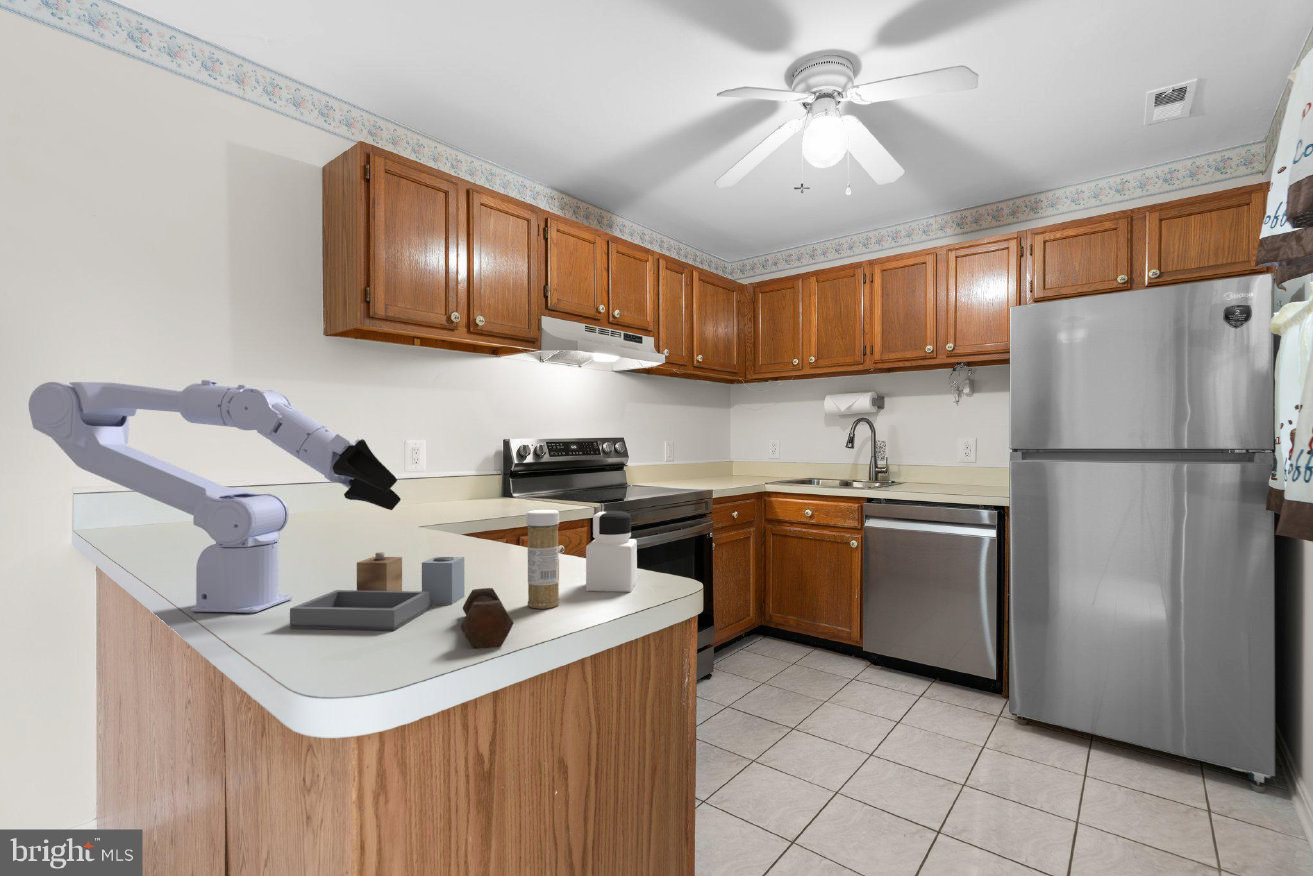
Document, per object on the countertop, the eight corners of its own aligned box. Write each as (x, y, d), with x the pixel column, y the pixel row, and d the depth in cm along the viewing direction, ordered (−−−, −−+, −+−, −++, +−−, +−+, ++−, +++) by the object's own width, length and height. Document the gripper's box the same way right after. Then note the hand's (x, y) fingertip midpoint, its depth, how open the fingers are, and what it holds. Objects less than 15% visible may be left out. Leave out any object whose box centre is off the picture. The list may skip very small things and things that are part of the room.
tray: (289, 628, 77) (289, 608, 77) (336, 607, 86) (336, 590, 86) (394, 630, 76) (394, 610, 76) (429, 609, 85) (429, 591, 85)
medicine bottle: (637, 582, 102) (636, 509, 102) (631, 592, 94) (630, 514, 95) (594, 581, 102) (594, 509, 102) (585, 591, 95) (585, 514, 95)
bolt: (487, 627, 83) (494, 659, 69) (453, 611, 82) (453, 641, 68) (508, 588, 85) (520, 612, 70) (475, 571, 83) (480, 593, 69)
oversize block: (421, 604, 88) (421, 561, 88) (435, 596, 93) (435, 555, 93) (452, 604, 88) (451, 561, 88) (464, 596, 92) (464, 556, 92)
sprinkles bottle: (558, 600, 90) (558, 508, 90) (560, 608, 85) (560, 511, 85) (526, 602, 89) (526, 509, 89) (526, 610, 84) (526, 512, 84)
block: (356, 604, 89) (356, 555, 89) (373, 596, 93) (373, 550, 93) (386, 604, 88) (386, 555, 88) (402, 596, 93) (402, 550, 93)
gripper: (326, 400, 84) (410, 453, 84) (341, 445, 96) (414, 492, 96) (286, 437, 80) (374, 493, 80) (307, 479, 93) (383, 527, 93)
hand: (394, 495), depth 88 cm, fingers open, 7 cm apart
